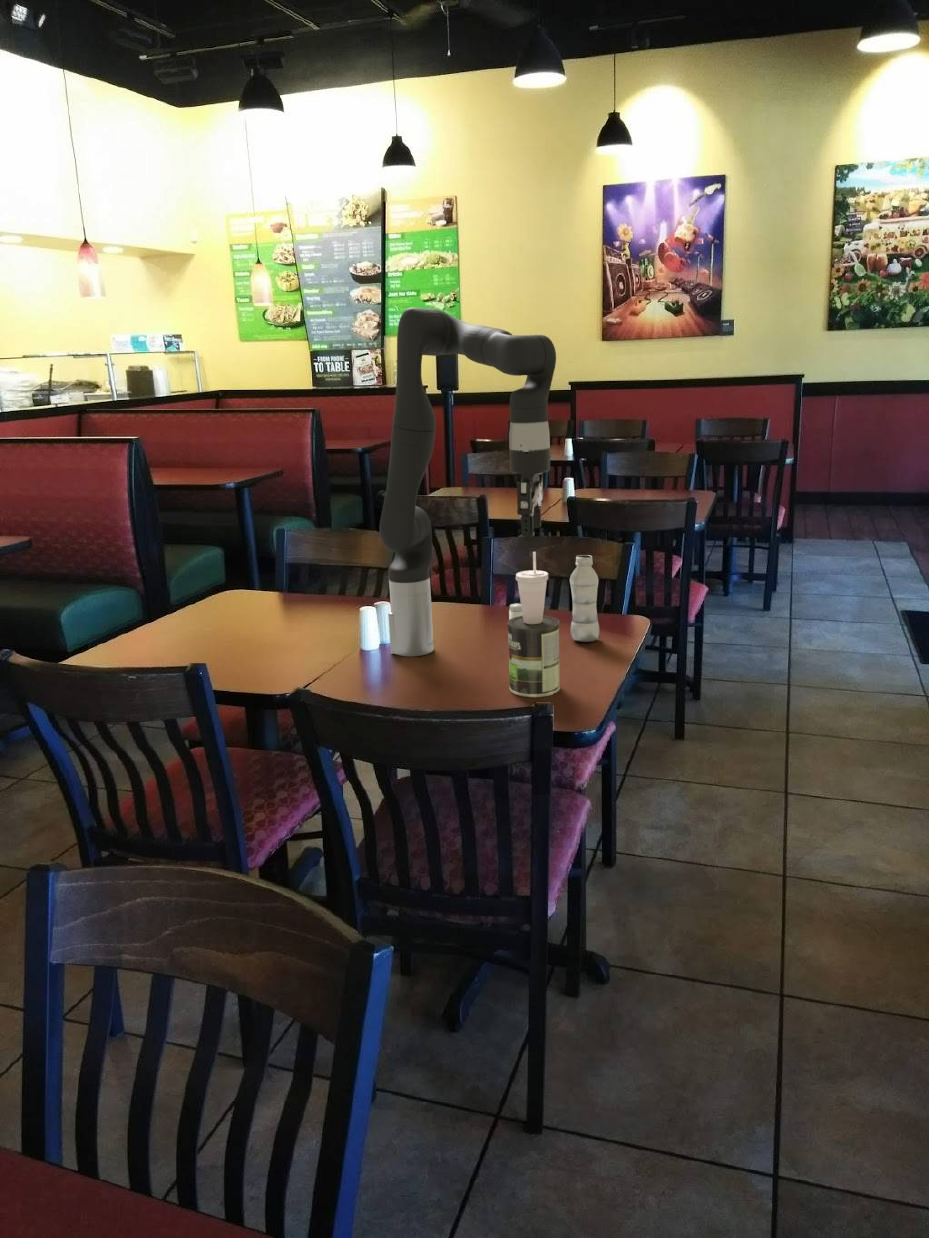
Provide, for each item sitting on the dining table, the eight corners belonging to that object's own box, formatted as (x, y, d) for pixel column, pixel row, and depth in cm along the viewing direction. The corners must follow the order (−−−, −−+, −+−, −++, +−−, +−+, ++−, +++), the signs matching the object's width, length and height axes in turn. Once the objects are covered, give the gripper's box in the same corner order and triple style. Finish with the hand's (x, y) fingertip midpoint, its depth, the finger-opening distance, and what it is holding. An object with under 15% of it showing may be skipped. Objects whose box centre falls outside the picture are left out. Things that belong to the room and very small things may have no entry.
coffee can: (517, 700, 182) (515, 631, 178) (503, 683, 192) (500, 617, 188) (567, 694, 184) (566, 625, 180) (550, 677, 194) (549, 612, 190)
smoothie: (547, 626, 180) (546, 555, 176) (514, 625, 182) (512, 555, 178) (551, 617, 186) (549, 548, 182) (519, 616, 188) (517, 548, 184)
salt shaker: (508, 640, 220) (507, 607, 217) (511, 636, 223) (510, 603, 221) (523, 641, 219) (522, 607, 217) (526, 636, 222) (525, 603, 220)
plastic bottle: (592, 646, 213) (592, 560, 207) (565, 642, 216) (564, 558, 211) (604, 638, 218) (603, 555, 212) (577, 635, 221) (576, 552, 216)
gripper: (517, 443, 182) (519, 525, 187) (502, 450, 169) (504, 539, 173) (555, 442, 180) (556, 525, 185) (543, 450, 167) (544, 539, 171)
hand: (531, 531), depth 179 cm, fingers open, 8 cm apart
